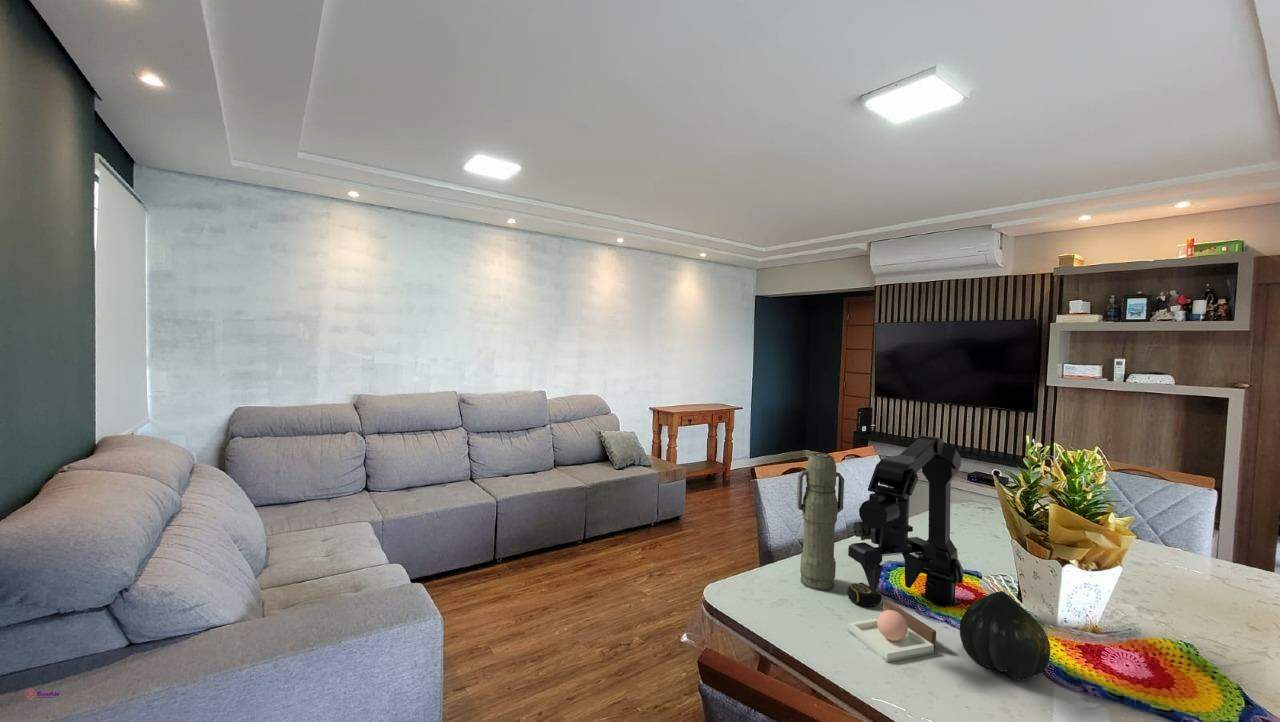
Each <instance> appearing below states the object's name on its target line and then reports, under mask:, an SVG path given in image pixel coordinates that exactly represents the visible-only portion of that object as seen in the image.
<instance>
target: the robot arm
mask: <svg viewBox="0 0 1280 722" xmlns="http://www.w3.org/2000/svg"><path fill="white" fill-rule="evenodd" d="M961 465H962V457H961V454H960V453H959V451H958V450H957V449H956V448H955V447H953V446H951V445H949V444H948V443H946V442H945V441H944V440H943V438H942V439H941V438H940V437H937V436H933V435H932V436H929V435H923V434H922V435H917V437H916V439H915V441H914V442H912V444H910V445H909V446H908V447H907V448H906V449H904V451H902V452H901V453H899V454H897V455H890V456H885V457H883V458H882V459H880V460H879V461H878V463H876V465H875V467H874V471H873V472H872V475H871V477H870V478H871V479H870V482H869V484H868V488H867V491H868V492H871V493H870V494H869V495H868V499H867V500H865V501H863V502H862V503H861V505H860V507H859V509H858V514H859V517H860V520H861V521H855V522H854V523H853V528H852V529H853V534H854V536H855V537H856V538H860V541H863V542H855V543H854V542H853V543H851V544H850V545H848V550H847V551H848V552H847V554H848V555H847V556H848V557H850V558H851V559H853V560H854V561H855V562H857V563H859V564H860V566H861V567H862V569H863V571H864V574H865V576H866V580H867V583H868V586H869V587H870V590H871V591H872V592H873V593H876V591H877V592H878V587H879V584H880V579H881V575H882V571H883V565H881V563H882V562H883V557H888V556H889V557H890V556H897V555H902V558H903V559H904V585H905V587H906V588H907V589H911V587H912V586H913V585H914V584H915V582H916V581H917V579H918V577H919V576H920V575H921V574H925V575H926V577H925V578H926V581H925V585H924V592H922V593H920V596H921V597H922V598H924V599H926V600H928V601H930V602H931V603H933V604H935V605H936V606H938V607H941V608H944V607H951V606H956V605H961V601H959V600H958V599H956V588H957V587H956V585H958V584H963V583H964V569H963V566H962V563H961V562H960V559H958V558H959V557H958V556H959V555H958V549H957V548H956V546H955V545H954V543H953V541H952V540H951V493H952V492H951V487H952V486H951V483H952V481H953V480H954V479H955V478H956V477H957V475H958V474H959V471H960V470H959V469H960V467H961ZM920 470H921V472H922V474H923V475H924V477H925V478H926V481H927V482H928V534H927V535H928V538H927V540H925V539H923V538H920V537H918V536H911V537H909V533H911V532H913V531H914V526H912V525H909V520H910V519H909V517H910V500H911V499H910V497H912V496H913V493H914V491H915V488H916V486H917V483H918V481H919V476H918V472H919V471H920ZM866 540H871V541H870V543H872V544H874V545H878V546H876V547H875V546H872V545H871V544H869V543H867V542H864V541H866Z"/></svg>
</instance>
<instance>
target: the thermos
mask: <svg viewBox="0 0 1280 722" xmlns="http://www.w3.org/2000/svg"><path fill="white" fill-rule="evenodd" d="M804 477H805V483H806V486H805V491H804V494H803V486H804V485H803V482H804V481H803V480H804V479H803V478H804ZM837 477H838V484H837ZM836 485H837V487H838V489H837V491H836ZM836 492H837V493H836ZM844 492H845V478H844V477H843V475H842V474H841V473H840V472H837V465H836V461H835V458H834V456H833V455H832V454H829V453H824V452H823V453H822V452H814V453H812V454H810V455H809V456H808V459H807V463H806V468H805V469H804V470H801V471H800V472H799V474H797V494H796V502H797V503H796V505H797V509H798V510H799V511H802V519H803V545H802V547H803V548H802V552H801V555H800V565H799V566H800V568H799V569H800V570H799V571H800V572H799V573H800V583H801V584H802V585H803V586H805V587H806V588H808V589H811V590H815V591H822V592H823V591H826V592H827V591H830V590H833V589H834V588H835V578H836V571H837V570H836V566H837V562H836V559H835V538H836V537H835V533H836V523H837V522H838V514H839V513H841V512H842V511H843V510H844V495H845V493H844ZM836 494H837V495H836Z"/></svg>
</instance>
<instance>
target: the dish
mask: <svg viewBox="0 0 1280 722" xmlns="http://www.w3.org/2000/svg"><path fill="white" fill-rule="evenodd" d="M877 619H878V617H877V618H871V619H864V620H858V621H853V622H847V629H846V630H847V632H848V633H849V634H851V636H853V637H854V638H856V639H857V640H858V641H860V642H861V643H862V644H863V645H864V646H865V647H867V648H868V649H869V650H871V651H872V652H873V653H874V654H875V655H877V656H878V657H879V658H880V659H882V660H883V661H885V662H886V663H889V662H890V663H891V662H897V661H901V660H906V659H912V658H916V657H917V658H918V657H922V656H927V655H931V654H932V655H933V654H934V651H935V650H934V645H933V644H932V643H930V642H929V641H927V640H926V639H924V638H923V637H921V636H920V635H918V634H917V633H915V632H914V631H912V630H911V629H909V628H908V630H907V634H906V636H905V637H904V638H903V639H901V640H898V641H892V640H889V639H887V638H885V637H884V636H883V635H882V634H881V632H880V631H879V629H878V626H877Z"/></svg>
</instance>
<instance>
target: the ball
mask: <svg viewBox="0 0 1280 722" xmlns="http://www.w3.org/2000/svg"><path fill="white" fill-rule="evenodd" d="M877 618H878V619H877V626H878V629H879V631H880V632H881V634H882V635H883V636H884V637H885V638H887V639H889V640H892V641H898V640H901V639H903V638H904V637H905V636H906V634H907V630H908V626H907V622H906V620H905V619H904V617H903V616H902V615H901V614H900V613H898V612H896V611H893V610H886V611H883V610H882V611H881V612H880V614H879V615H878V617H877Z"/></svg>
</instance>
